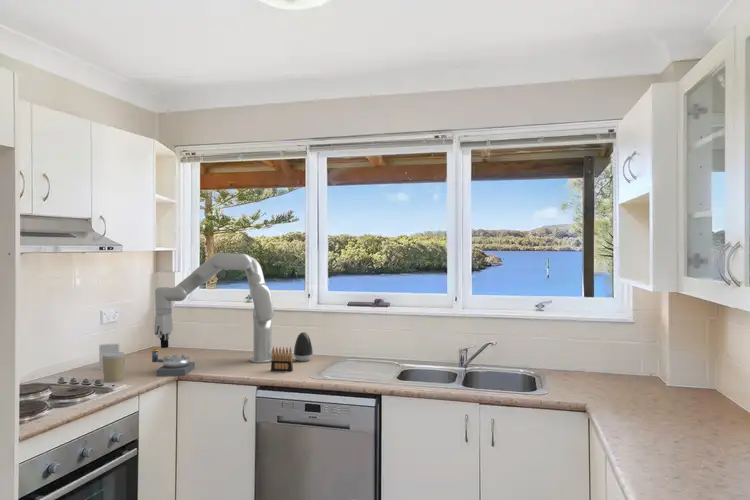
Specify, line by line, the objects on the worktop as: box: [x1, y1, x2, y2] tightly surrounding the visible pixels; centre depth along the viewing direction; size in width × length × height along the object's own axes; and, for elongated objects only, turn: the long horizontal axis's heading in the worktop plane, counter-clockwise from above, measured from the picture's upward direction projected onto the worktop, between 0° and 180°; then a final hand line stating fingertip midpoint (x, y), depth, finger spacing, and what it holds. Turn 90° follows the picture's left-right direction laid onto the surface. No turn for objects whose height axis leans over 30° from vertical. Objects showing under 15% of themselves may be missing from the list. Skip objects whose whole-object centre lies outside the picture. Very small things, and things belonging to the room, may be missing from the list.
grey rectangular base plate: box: [156, 361, 196, 377], centre depth 241 cm, size 13×16×3 cm
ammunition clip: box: [270, 346, 294, 373], centre depth 243 cm, size 11×2×12 cm, turn 82°
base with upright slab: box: [98, 342, 120, 371], centre depth 249 cm, size 9×9×12 cm
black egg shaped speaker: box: [293, 331, 314, 362], centre depth 267 cm, size 10×10×15 cm
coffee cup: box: [102, 351, 126, 383], centre depth 225 cm, size 9×9×12 cm
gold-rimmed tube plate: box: [151, 348, 190, 368], centre depth 241 cm, size 18×12×8 cm, turn 90°
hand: (164, 347), depth 249 cm, fingers closed
